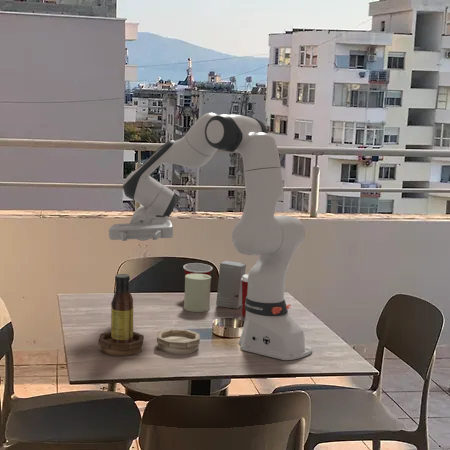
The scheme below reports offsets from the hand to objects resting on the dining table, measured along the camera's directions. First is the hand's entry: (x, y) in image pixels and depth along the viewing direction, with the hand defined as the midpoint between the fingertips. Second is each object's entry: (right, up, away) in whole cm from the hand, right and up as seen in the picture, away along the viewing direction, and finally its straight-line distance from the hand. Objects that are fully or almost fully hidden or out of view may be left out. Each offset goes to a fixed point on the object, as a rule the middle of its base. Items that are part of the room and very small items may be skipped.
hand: (139, 237), depth 223 cm
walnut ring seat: (-4, -32, -15) cm, 35 cm away
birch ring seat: (+13, -32, -10) cm, 36 cm away
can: (+16, -26, +32) cm, 44 cm away
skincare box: (+28, -25, +37) cm, 53 cm away
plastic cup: (+16, -23, +46) cm, 54 cm away
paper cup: (+35, -27, +26) cm, 51 cm away
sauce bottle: (-3, -30, -15) cm, 34 cm away
